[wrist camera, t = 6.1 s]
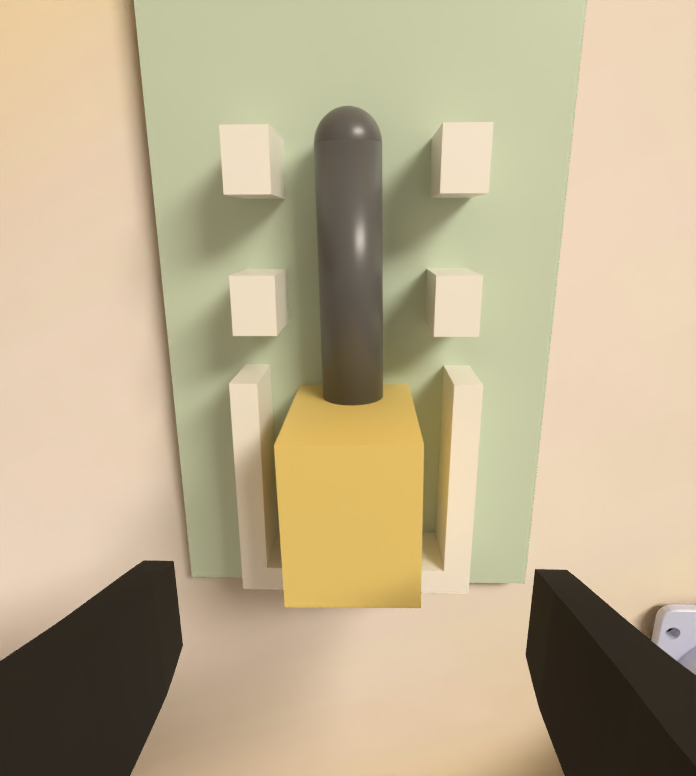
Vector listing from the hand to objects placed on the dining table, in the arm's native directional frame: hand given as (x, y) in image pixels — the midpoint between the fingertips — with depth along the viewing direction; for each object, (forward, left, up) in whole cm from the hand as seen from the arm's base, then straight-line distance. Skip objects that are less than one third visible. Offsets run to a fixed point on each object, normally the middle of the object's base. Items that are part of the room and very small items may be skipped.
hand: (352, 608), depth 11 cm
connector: (+4, 0, -8) cm, 9 cm away
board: (+5, 0, -8) cm, 10 cm away
